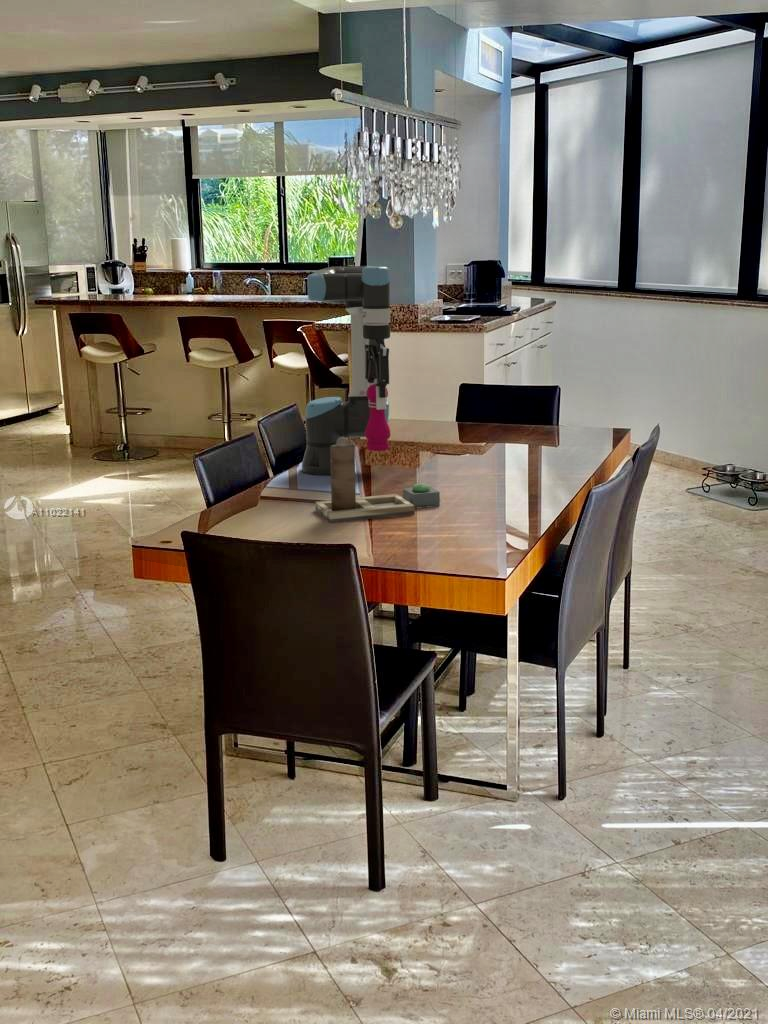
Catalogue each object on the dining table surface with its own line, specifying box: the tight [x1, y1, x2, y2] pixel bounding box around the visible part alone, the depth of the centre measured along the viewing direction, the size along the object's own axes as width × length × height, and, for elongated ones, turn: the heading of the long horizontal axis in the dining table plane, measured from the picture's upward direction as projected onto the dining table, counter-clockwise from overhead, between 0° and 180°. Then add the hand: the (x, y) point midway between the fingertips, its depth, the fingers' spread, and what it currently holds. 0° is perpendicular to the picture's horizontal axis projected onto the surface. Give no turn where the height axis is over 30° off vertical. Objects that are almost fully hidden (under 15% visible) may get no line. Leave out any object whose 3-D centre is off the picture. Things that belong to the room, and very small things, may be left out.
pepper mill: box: [364, 379, 391, 452], centre depth 299 cm, size 7×7×20 cm
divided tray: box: [315, 493, 415, 524], centre depth 293 cm, size 14×24×2 cm, turn 110°
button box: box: [402, 486, 441, 509], centre depth 301 cm, size 8×8×4 cm
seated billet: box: [330, 437, 357, 511], centre depth 289 cm, size 7×7×21 cm
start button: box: [412, 483, 431, 492], centre depth 301 cm, size 5×5×4 cm
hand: (377, 407), depth 298 cm, fingers closed on pepper mill, 6 cm apart
